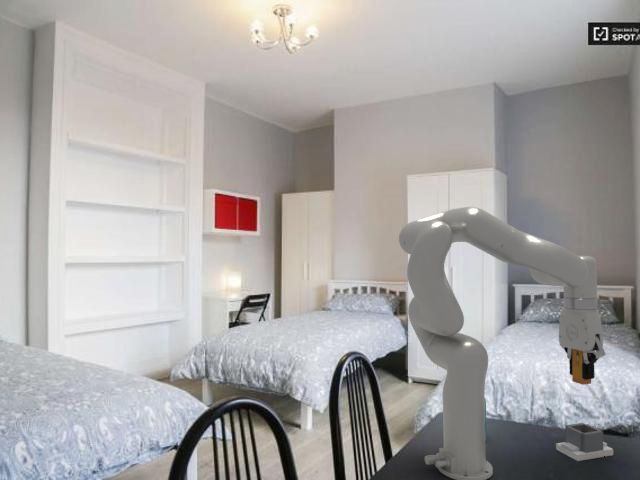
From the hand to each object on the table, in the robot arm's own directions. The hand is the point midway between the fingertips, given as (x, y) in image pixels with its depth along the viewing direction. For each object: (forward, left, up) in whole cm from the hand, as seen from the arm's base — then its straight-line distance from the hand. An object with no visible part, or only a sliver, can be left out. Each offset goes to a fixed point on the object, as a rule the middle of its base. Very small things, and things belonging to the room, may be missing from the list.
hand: (581, 375), depth 122 cm
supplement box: (0, 0, -2) cm, 2 cm away
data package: (-20, +19, -20) cm, 34 cm away
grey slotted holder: (0, 0, -19) cm, 19 cm away
